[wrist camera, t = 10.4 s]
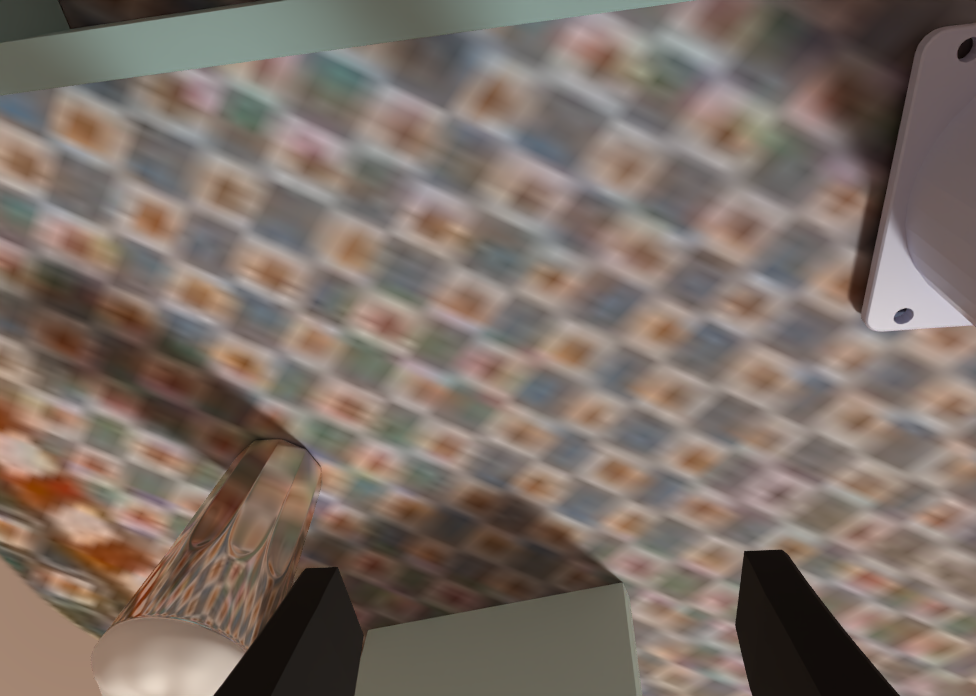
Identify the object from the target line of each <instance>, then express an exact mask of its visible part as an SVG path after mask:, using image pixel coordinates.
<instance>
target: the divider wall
mask: <svg viewBox="0 0 976 696" xmlns="http://www.w3.org/2000/svg"><path fill="white" fill-rule="evenodd" d="M686 1H693V0H261V1H255V2H248V3H241V4H234V5H228V6H221V7H214V8H208V9H201V10H194V11H188V12H181V13H174V14H168V15H161V16H154V17H148V18H141V19H134V20H128V21H121V22H114V23H108V24H101V25H94V26H88V27H81V28H74V29H70V28H69V25H68V23H67V21H66V18H65V16H64V14H63V11H62V9H61V7H60V4H59V2H58V0H0V95H7V94H14V93H22V92H29V91H36V90H43V89H51V88H58V87H65V86H73V85H80V84H87V83H95V82H102V81H109V80H117V79H124V78H131V77H138V76H146V75H153V74H160V73H168V72H175V71H182V70H190V69H197V68H204V67H211V66H219V65H226V64H233V63H241V62H248V61H255V60H263V59H270V58H277V57H284V56H292V55H299V54H306V53H314V52H321V51H328V50H336V49H343V48H350V47H358V46H365V45H372V44H379V43H387V42H394V41H401V40H409V39H416V38H423V37H431V36H438V35H445V34H452V33H460V32H467V31H474V30H482V29H489V28H496V27H504V26H511V25H518V24H525V23H533V22H540V21H547V20H555V19H562V18H569V17H577V16H584V15H591V14H599V13H606V12H613V11H620V10H628V9H635V8H642V7H650V6H657V5H664V4H672V3H679V2H686Z"/></svg>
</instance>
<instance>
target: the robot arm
mask: <svg viewBox="0 0 976 696" xmlns="http://www.w3.org/2000/svg"><path fill="white" fill-rule="evenodd" d="M969 38H972V39H973V47H972V49H971V51H970V52H969V53H968V54H967V55H966V56H965V57H964V58H961V59H958V58H957V50H958V48H959V46H960V45H961V44H962V43H963V42H964V41H965V40H966V39H969ZM904 308H907V310H906V312H905V313H904V314H902V315H901V316H899V317H894V315H895V313H896V312H898V311H899V310H900V309H904ZM861 319H862V320H863V322H864V323H865V324H866V326H867V327H868V328H869V329H871V330H873V331H880V332H882V331H896V330H911V329H925V328H940V327H954V326H969V325H974V326H975V327H976V23H970V24H962V25H954V26H946V27H941V28H938V29H935V30H933V31H932V32H930V33H929V34H927V35H926V36H925V37H924V38H923V39H922V41H921V42H920V43H919V45H918V47H917V50H916V52H915V56H914V61H913V66H912V71H911V75H910V80H909V85H908V90H907V95H906V99H905V104H904V109H903V114H902V119H901V124H900V128H899V133H898V138H897V143H896V148H895V152H894V157H893V162H892V167H891V172H890V177H889V181H888V186H887V191H886V196H885V201H884V206H883V210H882V215H881V220H880V225H879V230H878V234H877V239H876V244H875V249H874V254H873V259H872V263H871V268H870V273H869V278H868V283H867V287H866V292H865V297H864V302H863V307H862V312H861ZM735 626H736V631H737V635H738V639H739V644H740V648H741V653H742V657H743V661H744V666H745V670H746V674H747V678H748V682H749V686H750V690H751V693H752V696H900V695H899V694H898V693H897V692H896V691H895V690H894V688H893V687H892V686H891V685H890V684H889V683H888V682H887V680H886V679H885V678H884V677H883V676H882V674H881V673H880V672H879V671H878V670H877V669H876V667H875V666H874V665H873V664H872V663H871V661H870V660H869V659H868V658H867V657H866V655H865V654H864V653H863V652H862V651H861V650H860V648H859V647H858V646H857V645H856V644H855V642H854V641H853V640H852V639H851V637H850V636H849V635H848V634H847V632H846V631H845V630H844V629H843V627H842V626H841V625H840V624H839V622H838V621H837V620H836V619H835V617H834V616H833V615H832V613H831V612H830V611H829V610H828V608H827V607H826V606H825V605H824V603H823V602H822V601H821V599H820V598H819V597H818V595H817V594H816V593H815V591H814V590H813V589H812V587H811V586H810V585H809V583H808V582H807V581H806V579H805V578H804V576H803V575H802V574H801V572H800V571H799V570H798V568H797V567H796V565H795V564H794V563H793V561H792V560H791V558H790V557H789V555H788V554H787V553H785V552H784V551H783V550H761V551H744V558H743V566H742V574H741V582H740V591H739V599H738V607H737V615H736V623H735ZM362 642H363V632H362V630H361V627H360V624H359V622H358V619H357V617H356V614H355V611H354V609H353V606H352V603H351V601H350V598H349V596H348V593H347V590H346V588H345V585H344V583H343V580H342V577H341V575H340V572H339V569H338V567H328V568H306V569H305V570H304V571H303V572H302V573H301V575H300V576H299V578H298V579H297V580H296V582H295V583H294V585H293V586H292V588H291V589H290V591H289V592H288V593H287V595H286V596H285V598H284V599H283V601H282V602H281V604H280V605H279V606H278V608H277V609H276V611H275V612H274V614H273V615H272V616H271V618H270V619H269V621H268V622H267V624H266V625H265V626H264V628H263V629H262V631H261V632H260V633H259V635H258V636H257V638H256V639H255V640H254V642H253V643H252V645H251V646H250V647H249V649H248V650H247V651H246V653H245V654H244V655H243V657H242V658H241V659H240V661H239V662H238V663H237V665H236V666H235V667H234V669H233V670H232V671H231V673H230V674H229V676H228V677H227V678H226V680H225V681H224V682H223V684H222V685H221V686H220V687H219V689H218V690H217V691H216V693H215V694H214V695H213V696H354V695H355V689H356V683H357V677H358V671H359V664H360V657H361V650H362Z"/></svg>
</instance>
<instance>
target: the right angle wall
mask: <svg viewBox="0 0 976 696" xmlns="http://www.w3.org/2000/svg"><path fill="white" fill-rule="evenodd" d="M354 696H642V690H641V682H640V674H639V667H638V659H637V652H636V644H635V636H634V629H633V621H632V613H631V606H630V598H629V596H628V593H627V591H626V589H625V586H624V584H623V582H622V583H617V584H611V585H606V586H600V587H595V588H590V589H584V590H579V591H574V592H568V593H563V594H558V595H552V596H547V597H542V598H536V599H531V600H526V601H520V602H515V603H510V604H504V605H499V606H494V607H488V608H483V609H478V610H472V611H467V612H462V613H456V614H451V615H445V616H440V617H435V618H429V619H424V620H419V621H413V622H408V623H403V624H397V625H392V626H387V627H381V628H376V629H371V630H368V632H367V636H366V640H365V644H364V648H363V652H362V656H361V660H360V664H359V671H358V677H357V683H356V689H355V695H354Z"/></svg>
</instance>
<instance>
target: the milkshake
mask: <svg viewBox="0 0 976 696" xmlns="http://www.w3.org/2000/svg"><path fill="white" fill-rule="evenodd" d="M321 472H322V469H321V467H320V466H319V465H318V464H317V462H316V461H315V460H314V459H313V457H312V456H311V455H310V454H309V452H308V451H307V450H306V449H303V448H301V447H299V446H296V445H294V444H291V443H289V442H287V441H284V440H282V439H271V440H255V441H253V442H252V443H251V444H250V445H249V446H248V447H247V448H246V449H244V450H243V451H242V452H241V453H240V454H239V455H238V456H237V457H236V458H235V460H234V461H233V463H232V464H231V465H230V467H229V468H228V469H227V471H226V472H225V474H224V475H223V476H222V478H221V479H220V481H219V482H218V483H217V485H216V486H215V487H214V489H213V490H212V492H211V493H210V494H209V496H208V497H207V498H206V500H205V501H204V503H203V504H202V505H201V507H200V508H199V510H198V511H197V512H196V514H195V515H194V516H193V518H192V519H191V521H190V522H189V523H188V525H187V526H186V527H185V529H184V530H183V532H182V533H181V534H180V536H179V537H178V539H177V540H176V541H175V543H174V544H173V545H172V547H171V548H170V550H169V551H168V552H167V554H166V555H165V556H164V557H163V559H162V560H161V561H160V563H159V564H158V565H157V566H156V568H155V569H154V570H153V572H152V573H151V574H150V575H149V577H148V578H147V579H146V581H145V582H144V583H143V584H142V586H141V587H140V588H139V590H138V591H137V592H136V593H135V595H134V596H133V597H132V599H131V600H130V601H129V603H128V604H127V605H126V606H125V608H124V609H123V610H122V612H121V613H120V614H119V615H118V617H117V618H116V619H115V621H114V622H113V623H112V625H111V626H110V627H109V628H108V630H107V631H106V633H105V634H104V635H103V636H102V637H101V638H100V639H99V641H98V643H97V644H96V646H95V647H94V649H93V652H92V657H91V666H92V671H93V675H94V678H95V680H96V681H97V683H98V686H99V689H100V692H101V694H102V696H213V695H214V694H215V693H216V691H217V690H218V689H219V687H220V686H221V685H222V684H223V682H224V681H225V680H226V678H227V677H228V676H229V674H230V673H231V671H232V670H233V669H234V667H235V666H236V665H237V663H238V662H239V661H240V659H241V658H242V657H243V655H244V654H245V653H246V651H247V650H248V649H249V647H250V646H251V645H252V643H253V642H254V640H255V639H256V638H257V636H258V635H259V633H260V632H261V631H262V629H263V628H264V626H265V625H266V624H267V622H268V621H269V619H270V618H271V616H272V615H273V614H274V612H275V611H276V609H277V608H278V606H279V605H280V604H281V602H282V601H283V599H284V598H285V596H286V595H287V593H288V592H289V591H290V589H291V586H292V583H293V579H294V576H295V573H296V569H297V566H298V563H299V560H300V556H301V553H302V550H303V546H304V543H305V540H306V537H307V533H308V530H309V527H310V523H311V520H312V517H313V513H314V510H315V507H316V504H317V500H318V497H319V494H320V490H321Z"/></svg>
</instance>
